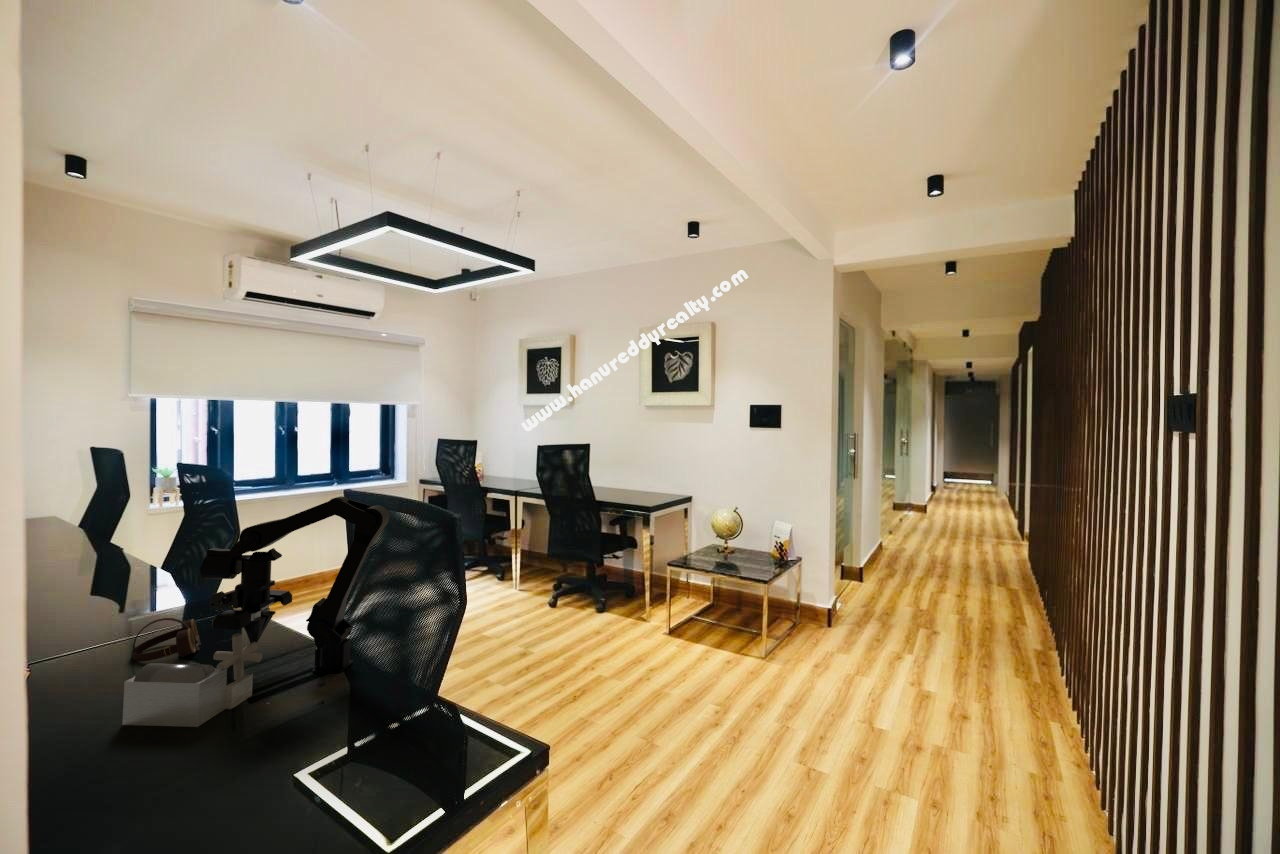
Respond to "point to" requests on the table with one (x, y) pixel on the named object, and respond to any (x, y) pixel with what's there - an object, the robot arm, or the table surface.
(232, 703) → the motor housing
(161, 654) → the goggles
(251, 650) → the pipe connector
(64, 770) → the table surface
